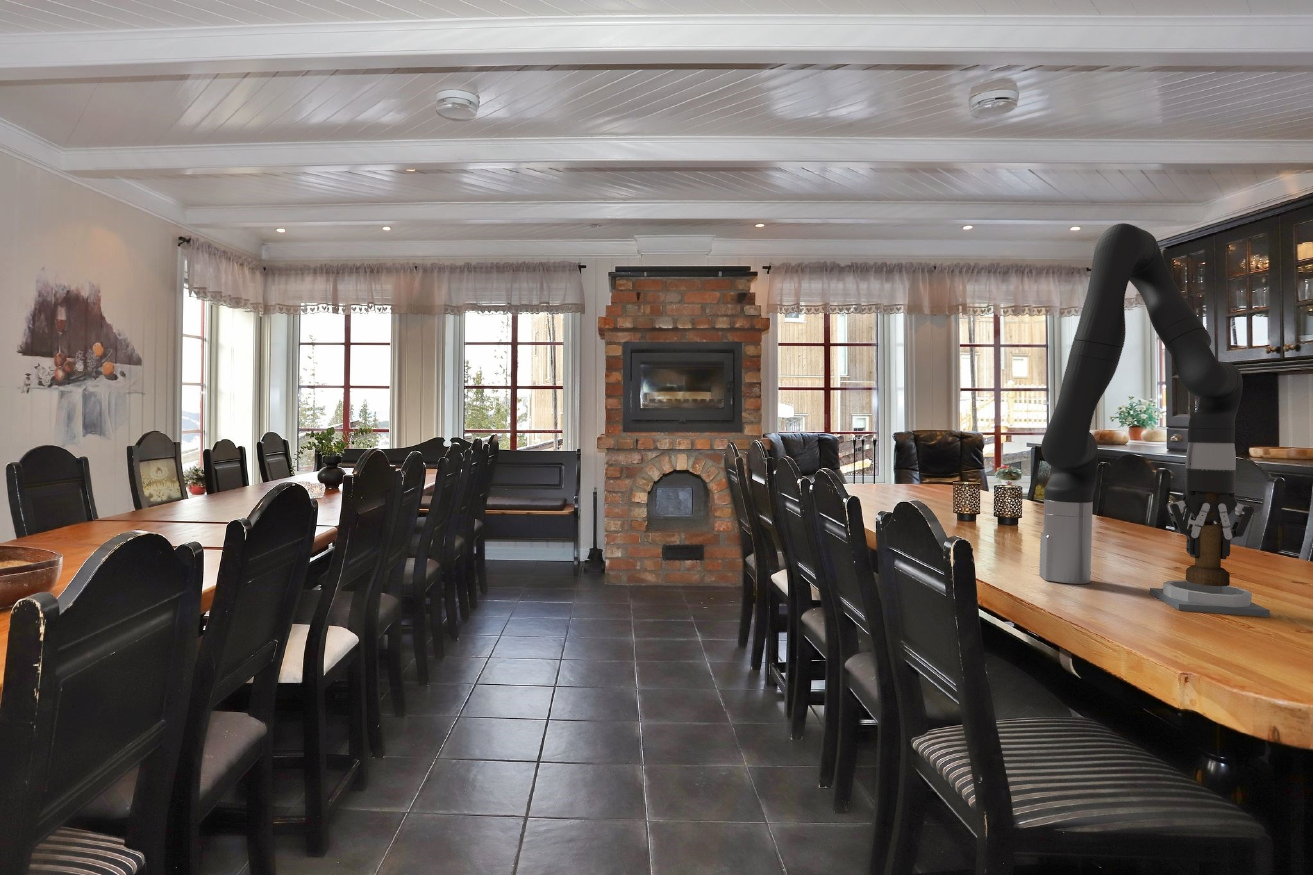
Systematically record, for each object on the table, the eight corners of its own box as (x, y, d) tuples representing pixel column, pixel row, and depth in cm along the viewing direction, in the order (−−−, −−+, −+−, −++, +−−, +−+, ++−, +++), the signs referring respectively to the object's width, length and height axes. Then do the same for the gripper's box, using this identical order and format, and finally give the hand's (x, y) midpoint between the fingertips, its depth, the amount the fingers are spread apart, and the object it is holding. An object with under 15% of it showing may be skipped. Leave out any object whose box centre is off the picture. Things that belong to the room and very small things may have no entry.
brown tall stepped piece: (1188, 583, 139) (1191, 487, 138) (1183, 577, 144) (1185, 485, 144) (1233, 588, 136) (1235, 489, 135) (1225, 581, 141) (1228, 487, 141)
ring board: (1178, 610, 135) (1179, 592, 135) (1149, 593, 149) (1150, 577, 149) (1269, 616, 132) (1270, 599, 132) (1231, 599, 145) (1231, 583, 145)
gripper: (1175, 466, 138) (1172, 559, 138) (1265, 469, 134) (1262, 563, 135) (1159, 465, 145) (1157, 552, 146) (1244, 467, 142) (1242, 557, 142)
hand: (1208, 557), depth 140 cm, fingers closed on brown tall stepped piece, 4 cm apart
